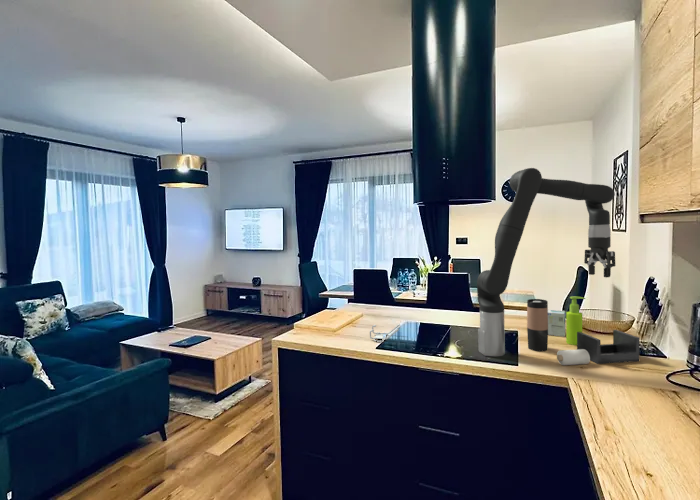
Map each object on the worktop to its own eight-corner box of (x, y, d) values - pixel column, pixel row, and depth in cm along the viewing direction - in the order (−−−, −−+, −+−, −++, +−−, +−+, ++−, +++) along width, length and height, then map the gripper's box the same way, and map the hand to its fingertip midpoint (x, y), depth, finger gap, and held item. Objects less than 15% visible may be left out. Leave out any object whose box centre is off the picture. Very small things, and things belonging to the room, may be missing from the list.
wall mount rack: (373, 333, 187) (372, 321, 187) (400, 333, 184) (400, 322, 184) (368, 342, 172) (368, 330, 171) (398, 343, 169) (398, 330, 169)
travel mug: (547, 346, 157) (547, 299, 156) (548, 352, 150) (548, 302, 149) (527, 345, 160) (526, 298, 159) (527, 350, 153) (527, 301, 152)
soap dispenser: (587, 345, 156) (587, 298, 155) (569, 345, 158) (569, 298, 157) (581, 341, 162) (581, 295, 161) (564, 341, 164) (564, 295, 162)
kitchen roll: (563, 367, 134) (563, 353, 134) (554, 362, 139) (554, 348, 139) (592, 365, 135) (592, 351, 135) (582, 360, 140) (582, 347, 140)
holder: (597, 364, 136) (597, 340, 136) (577, 354, 147) (577, 331, 147) (639, 361, 137) (639, 337, 137) (616, 351, 148) (616, 329, 148)
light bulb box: (565, 333, 175) (565, 310, 174) (565, 337, 169) (565, 313, 169) (540, 330, 181) (540, 308, 180) (538, 334, 175) (538, 311, 174)
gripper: (578, 236, 159) (578, 274, 160) (603, 236, 145) (603, 278, 146) (595, 235, 159) (595, 273, 160) (621, 236, 145) (621, 277, 146)
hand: (599, 275), depth 153 cm, fingers open, 8 cm apart
